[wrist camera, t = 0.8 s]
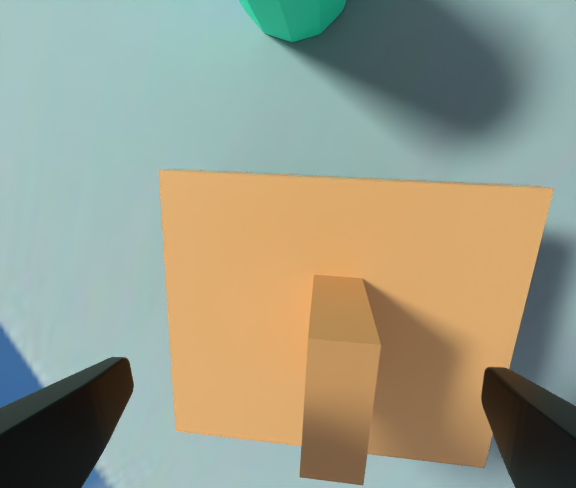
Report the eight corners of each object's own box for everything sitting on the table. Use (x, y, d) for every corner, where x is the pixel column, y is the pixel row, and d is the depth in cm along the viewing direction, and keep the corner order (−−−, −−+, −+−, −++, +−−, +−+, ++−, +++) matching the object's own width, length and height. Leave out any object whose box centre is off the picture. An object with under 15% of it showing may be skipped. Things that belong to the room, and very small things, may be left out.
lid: (523, 183, 14) (696, 214, 8) (467, 433, 18) (552, 604, 11) (179, 167, 16) (70, 182, 9) (190, 403, 19) (118, 539, 13)
